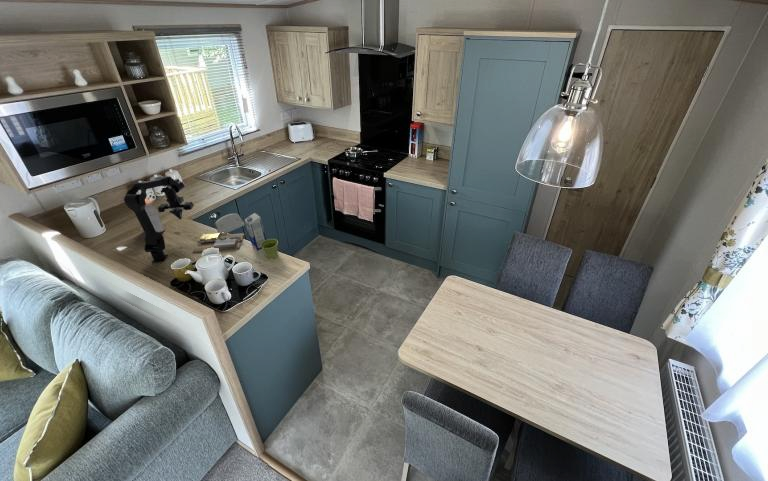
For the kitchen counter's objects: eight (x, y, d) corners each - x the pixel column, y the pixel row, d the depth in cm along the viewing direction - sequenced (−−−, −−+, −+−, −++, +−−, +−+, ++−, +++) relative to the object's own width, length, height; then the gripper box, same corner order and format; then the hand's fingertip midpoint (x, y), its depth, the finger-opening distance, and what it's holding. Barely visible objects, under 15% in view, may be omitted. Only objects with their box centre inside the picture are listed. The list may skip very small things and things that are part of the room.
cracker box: (147, 227, 226) (134, 199, 215) (157, 223, 230) (144, 195, 218) (155, 234, 218) (142, 205, 207) (165, 230, 222) (152, 201, 211)
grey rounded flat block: (221, 235, 215) (214, 220, 212) (218, 235, 219) (211, 220, 215) (245, 224, 225) (239, 210, 222) (242, 224, 229) (236, 210, 226)
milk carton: (267, 245, 204) (260, 216, 193) (257, 250, 200) (249, 220, 189) (262, 241, 208) (254, 212, 197) (251, 245, 204) (243, 216, 193)
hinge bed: (238, 248, 202) (237, 243, 200) (193, 253, 199) (190, 247, 197) (244, 234, 215) (242, 229, 213) (201, 238, 213) (199, 233, 211)
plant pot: (284, 255, 195) (281, 242, 190) (269, 263, 189) (266, 250, 184) (275, 249, 200) (271, 236, 196) (260, 256, 195) (257, 244, 190)
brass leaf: (217, 241, 207) (216, 237, 206) (200, 242, 206) (199, 239, 205) (220, 235, 212) (219, 232, 211) (203, 237, 211) (202, 233, 210)
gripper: (192, 189, 210) (200, 211, 219) (160, 191, 209) (170, 214, 217) (186, 197, 201) (195, 220, 210) (152, 199, 199) (163, 223, 208)
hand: (180, 219), depth 211 cm, fingers closed
